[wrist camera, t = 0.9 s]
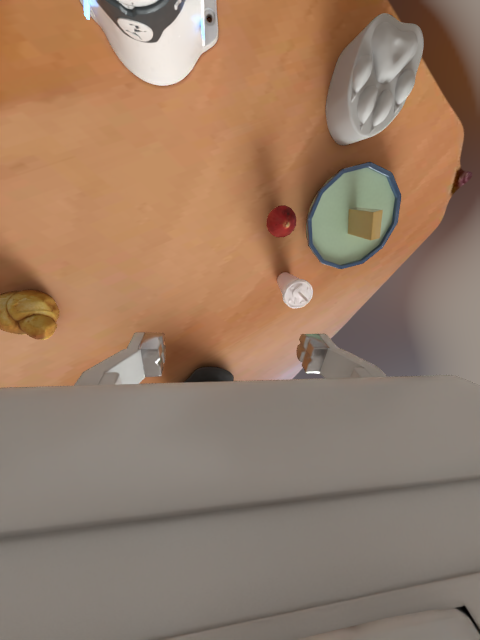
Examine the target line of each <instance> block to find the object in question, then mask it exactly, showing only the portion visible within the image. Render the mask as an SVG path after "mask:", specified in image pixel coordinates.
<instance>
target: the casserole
mask: <svg viewBox="0 0 480 640" xmlns="http://www.w3.org/2000/svg"><path fill="white" fill-rule="evenodd" d="M222 381H233V375H232V374H231V373H230V372H229V371H227V370H224V369H221V368H218V367H203V368H199V369H197V370H195V371H194V372H193V374H192V375H191V376H190V377H189V378H188V379H187V380H186V381H185V382H183V383H186V382H222Z"/></svg>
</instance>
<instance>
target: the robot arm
mask: <svg viewBox="0 0 480 640" xmlns="http://www.w3.org/2000/svg"><path fill="white" fill-rule="evenodd" d="M80 2H81V4H82V6H83V7H84V15H85V17H86V18H87V19H88V20H90V16H91V17H92V18H93V19H94V20H95V21H96V22H97V23H98V24H99V26H100V27H101V28H102V30H103V32H104V33H105V35H106V37H107V39H108V41H109V43H110V45H111V47H112V48H113V50H114V52H115V53H116V55H117V56H118V58H119V59H120V60H121V61H122V63H123V64H124V65H125V66H126V67H127V68H128V69H129V70H130V71H131V72H132V73H133V74H134V75H136V76H137V77H139V78H140V79H142V80H144V81H146V82H148V83H151V84H154V85H160V86H166V85H172V84H175V83H177V82H179V81H181V80H182V79H183V78H185V77H186V76H187V75H188V74H189V73H190V71H191V70H192V69H193V67H194V65H195V64H196V62H197V60H198V58H199V57H200V55H201V54H202V53H204V52H205V51H207V50H208V49H210V48H211V47H213V46H214V45H215V43H216V42H217V40H218V19H217V5H216V0H80ZM207 17H210V18H211V19H212V22H210V23H209V22H208V21H207V20H206V19H207ZM299 340H300V342H301V343H300V344H299V345H298V347H297V357H298V359H299V361H301V362H302V367H303V368H304V370H305V372H306V373H320V375H322V376H323V377H324V378H326V379H292V380H257V381H222V382H186V383H151V384H139V383H140V382H141V381H142V380H143V379H144V378H145V377H156V376H161V375H162V371H163V363H164V362H165V358H166V346H165V345H164V342H165V334H164V333H151V332H146V333H145V332H136V333H134V335H133V337H132V339H131V341H130V343H129V345H128V347H127V349H123V350H121V351H120V352H118V353H116V354H114V355H113V356H111V357H109V358H107V359H106V360H104V361H102V362H100V363H99V364H97V365H95V366H93V367H91V368H90V369H88V370H86V371H84V372H83V373H82V375H81V376H80V378H79V379H78V381H77V382H76V384H75V385H74V386H45V387H9V388H0V640H480V385H478V384H475V383H473V382H471V381H468V380H466V379H463V378H460V377H457V376H453V375H435V376H434V375H433V376H400V377H387V376H386V375H385V374H384V373H383V372H382V371H381V370H380V368H378V367H377V366H375V365H373V364H371V363H369V362H367V361H365V360H363V359H361V358H359V357H357V356H355V355H353V354H351V353H349V352H347V351H345V350H343V349H341V348H338V347H337V346H336V345H335V344H334V343H333V342H332V340H331V339H330V338H329V337H328V336H327V335H326V334H302V335H301V336H300V339H299Z"/></svg>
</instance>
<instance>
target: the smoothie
mask: <svg viewBox="0 0 480 640" xmlns="http://www.w3.org/2000/svg"><path fill="white" fill-rule="evenodd" d="M277 283H278V285H279V287H280V290H281V292H282V294H283V295H282V296H283V300H284V302H285V303H286V304H287V305H288V306H289V307H291V308H300V307H303V306H305V305H306V304H307V303H308V302H309V301H310V300H311V298H312V295H313V289H312V286H311V285H310V284H309V283H308V282H307V281H306V280H303V279H299V278H297V277H295V276H293V275H291V274H289V273H287V272H284V273H281V274H280V275H279V276H278V278H277Z"/></svg>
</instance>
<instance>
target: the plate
mask: <svg viewBox="0 0 480 640" xmlns="http://www.w3.org/2000/svg"><path fill="white" fill-rule="evenodd" d="M400 202H401V193H400V191H399V188H398V186H397V184H396V181H395V179H394V176H393V174H392V173H391V172H390V171H388V170H386V169H384V168H382V167H380V166H378V165H376V164H374V163H372V162H367V163H363V164H359V165H355V166H351V167H347V168H343V169H341V170H340V171H339V172H338V173H337V174H335V175H334V176H332V177H331V178H330V179H329V180H328V181H327V182H326V183H325V184H324V185H323V186H322V188H321V189H320V190H319V191H318V193H317V195H316V196H315V198H314V200H313V202H312V204H311V207H310V210H309V213H308V217H307V223H306V235H307V240H308V246H309V247H310V249H311V250H312V252H313V254H314V255H315V256H316V257H317V258H318V260H319V261H320V262H321V263H323V264H326V265H329V266H332V267H336V268H339V269H344V268H347V267H351V266H355V265H359V264H363V263H364V262H365V261H367V260H368V259H369V258H370V257H372V256H373V255H374V254H375V253H377V252H378V251H379V250H380V249H382V248H383V247H384V245H385V243H386V242H387V240H388V238H389V236H390V235H391V233H392V231H393V230H394V228H395V226H396V225H397V223H398V216H399V209H400Z"/></svg>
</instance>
